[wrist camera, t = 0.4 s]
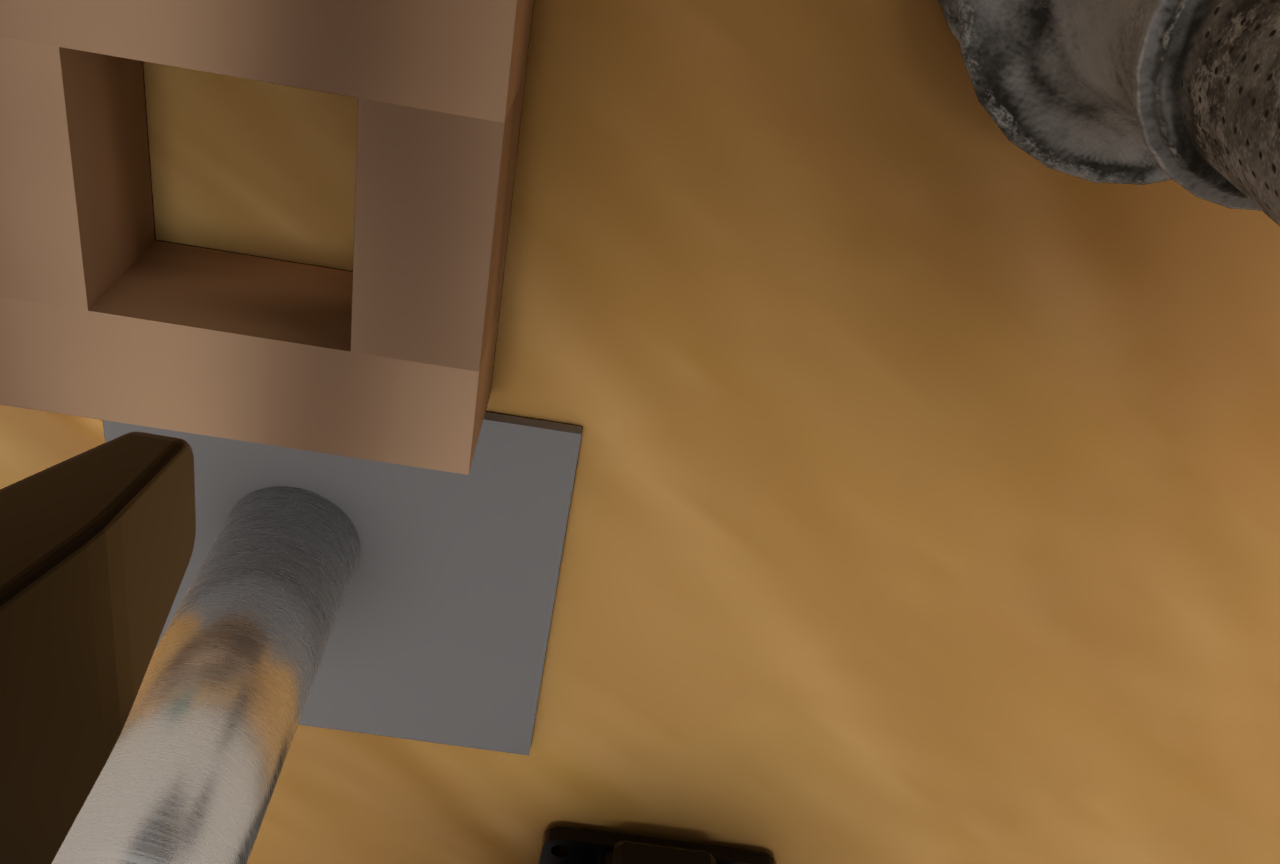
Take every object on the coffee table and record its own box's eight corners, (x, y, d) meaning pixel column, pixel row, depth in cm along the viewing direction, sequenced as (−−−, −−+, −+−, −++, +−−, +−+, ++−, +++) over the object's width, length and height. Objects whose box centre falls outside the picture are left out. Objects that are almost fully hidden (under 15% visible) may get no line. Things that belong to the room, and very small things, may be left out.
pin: (358, 599, 27) (221, 987, 19) (228, 581, 26) (34, 964, 18) (362, 497, 25) (214, 873, 17) (224, 476, 25) (9, 847, 17)
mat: (529, 746, 30) (529, 755, 29) (138, 693, 29) (133, 702, 29) (582, 426, 24) (581, 434, 24) (102, 352, 24) (96, 359, 23)
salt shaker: (1009, 174, 21) (1314, 620, 11) (849, -113, 18) (1054, 121, 8) (1335, -19, 19) (2073, 307, 9) (1206, -371, 17) (2030, -463, 6)
